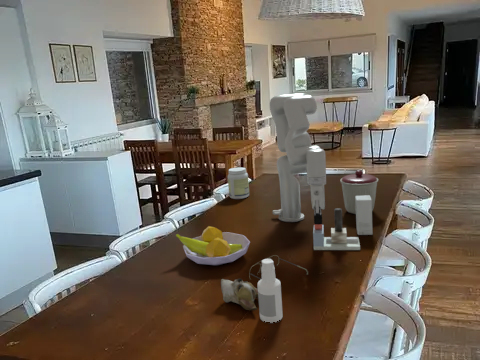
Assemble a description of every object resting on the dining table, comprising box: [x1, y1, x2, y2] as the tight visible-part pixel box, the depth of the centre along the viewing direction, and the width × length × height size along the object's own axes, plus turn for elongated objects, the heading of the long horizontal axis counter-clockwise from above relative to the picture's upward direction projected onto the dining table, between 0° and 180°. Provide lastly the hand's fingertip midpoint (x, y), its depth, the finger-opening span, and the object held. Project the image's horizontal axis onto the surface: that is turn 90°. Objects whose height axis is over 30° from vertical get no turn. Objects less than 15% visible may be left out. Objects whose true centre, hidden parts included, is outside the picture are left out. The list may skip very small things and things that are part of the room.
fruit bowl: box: [175, 225, 251, 266], centre depth 172 cm, size 28×27×11 cm
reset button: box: [313, 223, 323, 230], centre depth 175 cm, size 3×3×2 cm
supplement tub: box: [227, 167, 250, 200], centre depth 256 cm, size 12×12×17 cm
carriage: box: [330, 207, 348, 243], centre depth 173 cm, size 6×6×14 cm
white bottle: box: [257, 258, 283, 324], centre depth 125 cm, size 7×7×18 cm
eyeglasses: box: [248, 254, 309, 280], centre depth 152 cm, size 16×15×5 cm
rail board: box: [312, 224, 361, 251], centre depth 175 cm, size 18×10×7 cm, turn 79°
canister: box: [339, 169, 379, 215], centre depth 212 cm, size 18×18×21 cm
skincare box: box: [355, 195, 374, 236], centre depth 186 cm, size 8×7×16 cm
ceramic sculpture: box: [220, 278, 258, 311], centre depth 136 cm, size 11×9×15 cm
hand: (318, 223), depth 175 cm, fingers closed
